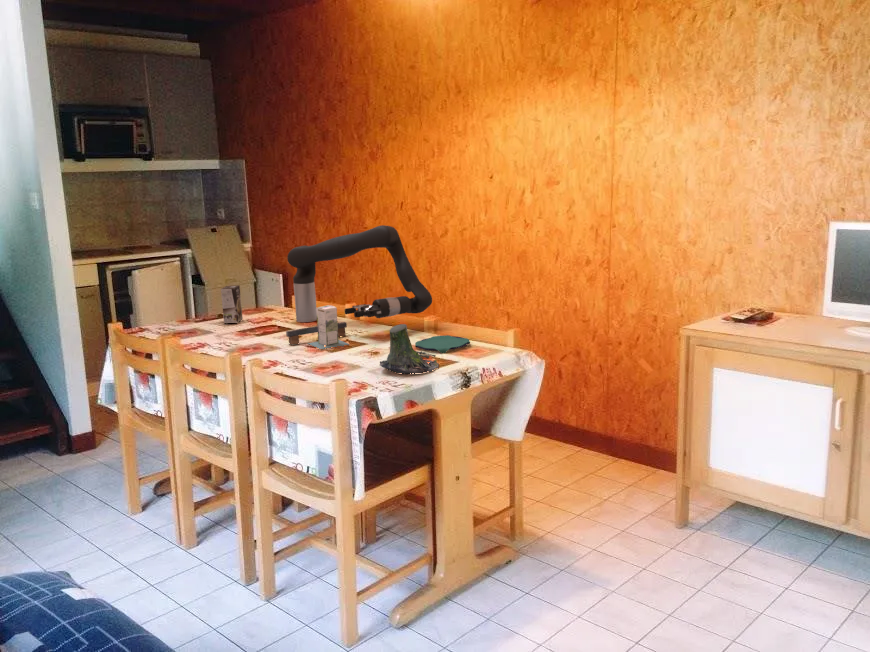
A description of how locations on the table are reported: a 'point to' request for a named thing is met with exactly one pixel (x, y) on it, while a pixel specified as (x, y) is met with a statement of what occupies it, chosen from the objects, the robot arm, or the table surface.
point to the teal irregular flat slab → (441, 344)
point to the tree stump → (405, 354)
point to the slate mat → (320, 346)
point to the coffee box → (231, 304)
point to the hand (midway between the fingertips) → (349, 313)
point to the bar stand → (296, 338)
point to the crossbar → (310, 330)
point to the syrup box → (327, 325)
